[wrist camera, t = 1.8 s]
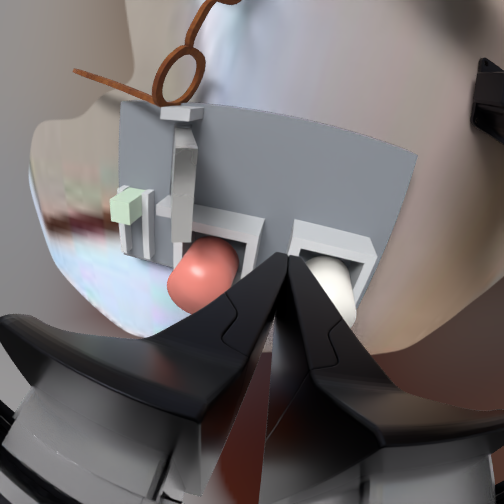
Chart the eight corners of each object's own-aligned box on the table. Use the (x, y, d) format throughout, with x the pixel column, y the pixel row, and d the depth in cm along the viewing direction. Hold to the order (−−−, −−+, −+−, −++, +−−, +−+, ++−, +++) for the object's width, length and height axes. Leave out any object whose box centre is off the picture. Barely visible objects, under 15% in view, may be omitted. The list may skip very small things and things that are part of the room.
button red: (242, 242, 19) (227, 276, 16) (235, 285, 21) (222, 322, 18) (189, 231, 19) (166, 261, 16) (188, 274, 21) (168, 307, 18)
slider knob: (147, 190, 21) (129, 203, 18) (147, 210, 22) (129, 225, 19) (129, 187, 21) (109, 199, 19) (129, 207, 22) (111, 220, 20)
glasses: (190, 110, 19) (158, 115, 15) (76, 72, 18) (37, 76, 13) (265, -30, 12) (253, -60, 8) (131, -47, 11) (99, -62, 6)
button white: (357, 262, 18) (366, 299, 15) (339, 303, 20) (342, 342, 17) (304, 250, 19) (303, 286, 15) (291, 293, 21) (287, 332, 17)
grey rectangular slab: (191, 123, 18) (200, 144, 11) (185, 191, 20) (192, 245, 14) (174, 122, 17) (173, 143, 11) (169, 191, 20) (169, 245, 14)
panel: (408, 150, 18) (434, 164, 14) (354, 295, 25) (360, 332, 21) (134, 100, 19) (98, 104, 15) (133, 244, 26) (108, 270, 22)
